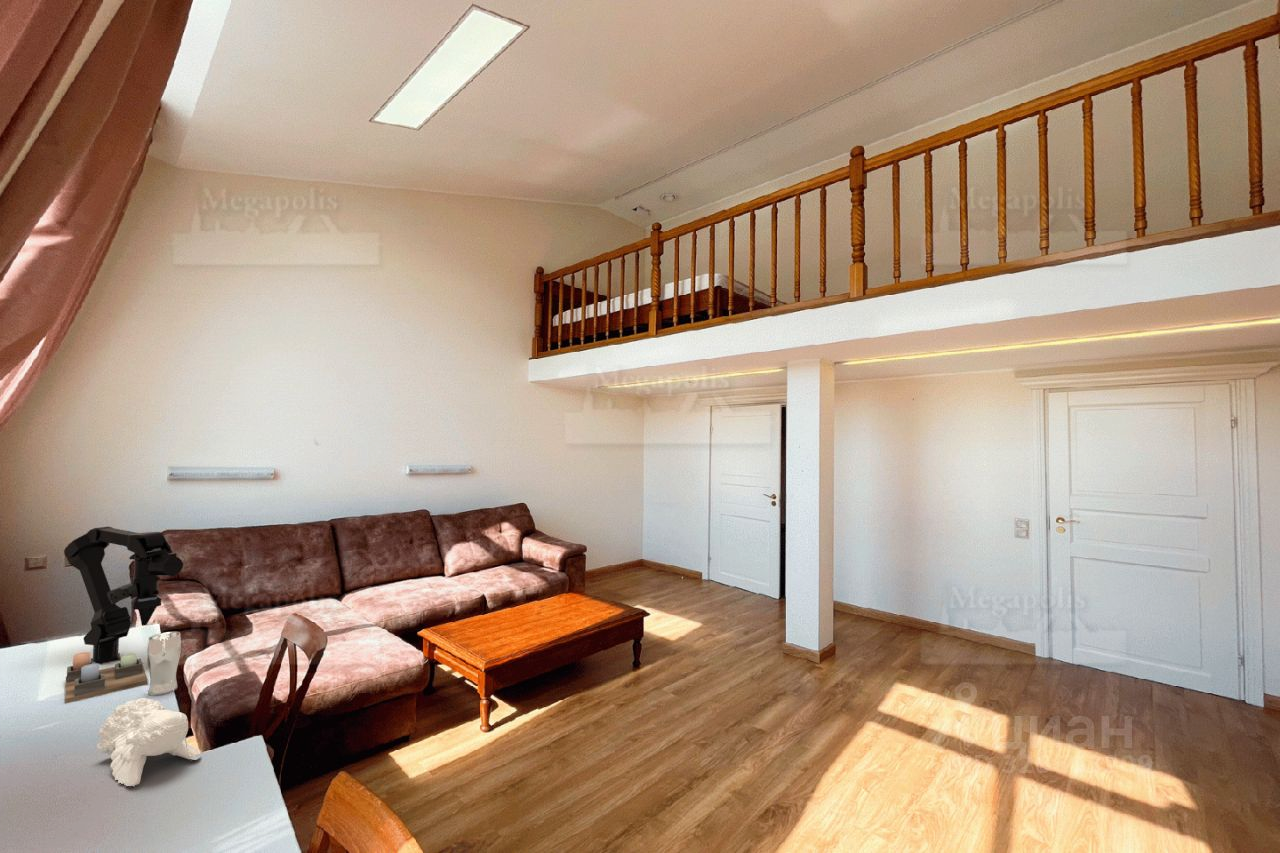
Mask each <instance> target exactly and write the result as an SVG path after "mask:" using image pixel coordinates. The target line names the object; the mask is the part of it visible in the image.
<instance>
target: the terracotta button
mask: <svg viewBox="0 0 1280 853" xmlns="http://www.w3.org/2000/svg"><path fill="white" fill-rule="evenodd" d="M90 662H91V652H89V651H85V652H80V653H75V654H73V655H72V666H73V671H74V670H79V669H81V668H82V667H83V666H85V665H89V664H90Z"/></svg>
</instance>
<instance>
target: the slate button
mask: <svg viewBox="0 0 1280 853" xmlns="http://www.w3.org/2000/svg"><path fill="white" fill-rule="evenodd" d="M99 670H100V664H98V663H95V664H89V665H85V666H83V667H82V668H81V683H85V682H90V681H94V680H99Z"/></svg>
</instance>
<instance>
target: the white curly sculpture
mask: <svg viewBox="0 0 1280 853" xmlns="http://www.w3.org/2000/svg"><path fill="white" fill-rule="evenodd" d="M188 731H189V721H188V717H187V715H186V714H185V713H183V712H180V711H173V710H171V709H166V707H165V706H164V705H162V702H160V701H159V700H155V699H153V698H147V697H143V698H138V699H136V700H128V701H127V702H126V703H125V704H120V705H118V706H116V708H115V709H114V711H113V712H112V714H111V715H110V716H109V717H108V718H107V719H105V721H104V722H103V724H102V725H101V727H100V729H99V730H98V733H99V735H98V737H99V738H100V741H99V742H98V743H97V746H96V749H98V750H99V751H100V753H101V754H107V755H109V756H110V760H111V761H112V762H111V763H110V766H109V767H110V769H111V770H112V772H111V774H112V776H113V777H114V781H116V780H118V781H117V783H118V784H119V783H121V784H122V783H124V786H125V785H126V786H133V787H136V786H135V785H137V784H138V785H140V783H141V778H142V776H143V775H142V774H143V770H144V766H145V763H146V761H147V757H154V756H160V755H163V754H167V753H168V754H170V755H171V756H178V757H181V758H184V759H187V760H190V758H193V755H196V754H201V753H200V751H199V750H198V749H197V748H195V746H193V745H192V744H190V743H188V742H187V741H186V740H185V739H186V736H187V734H188ZM185 741H186V743H187V748H186V743H185ZM187 749H188V751H187ZM188 753H189V754H190V755H191V756H190V755H189V754H188ZM190 761H191V760H190ZM121 784H120V785H121ZM138 785H137V786H138ZM126 786H125V787H126Z"/></svg>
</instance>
